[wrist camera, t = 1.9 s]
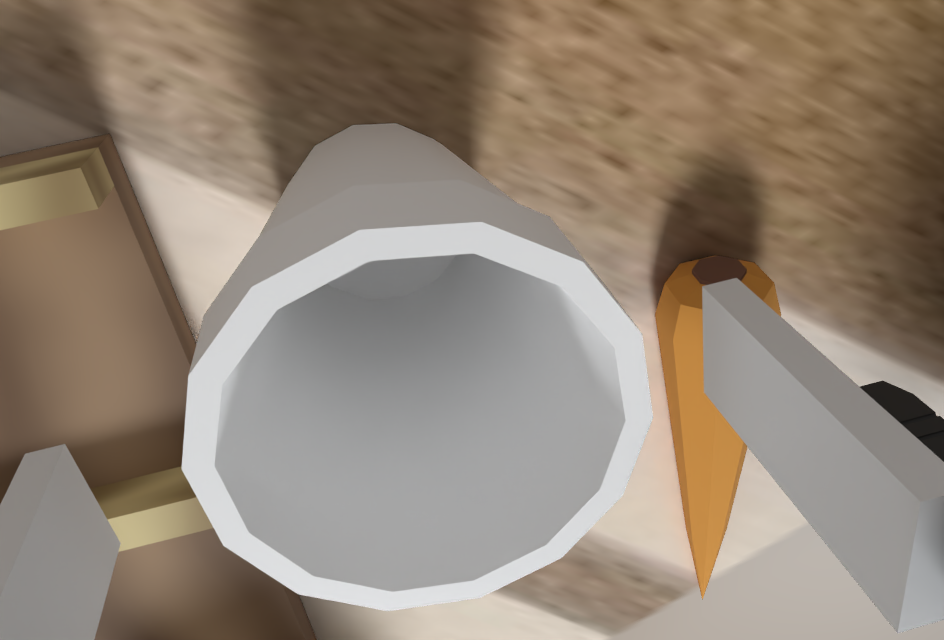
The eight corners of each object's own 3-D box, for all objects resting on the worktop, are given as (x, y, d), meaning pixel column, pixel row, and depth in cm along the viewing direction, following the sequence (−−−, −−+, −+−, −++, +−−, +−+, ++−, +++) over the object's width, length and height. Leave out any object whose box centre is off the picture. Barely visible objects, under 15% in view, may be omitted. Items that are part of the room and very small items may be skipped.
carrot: (655, 238, 30) (653, 305, 27) (779, 236, 29) (793, 305, 26) (657, 559, 42) (656, 635, 38) (745, 566, 41) (753, 645, 37)
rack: (109, 133, 24) (80, 167, 21) (321, 651, 36) (322, 719, 33) (-331, 227, 23) (-428, 277, 20) (41, 726, 35) (16, 803, 32)
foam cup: (562, 223, 28) (728, 439, 17) (372, 376, 30) (408, 666, 19) (389, 8, 24) (457, 108, 13) (176, 202, 25) (68, 444, 14)
